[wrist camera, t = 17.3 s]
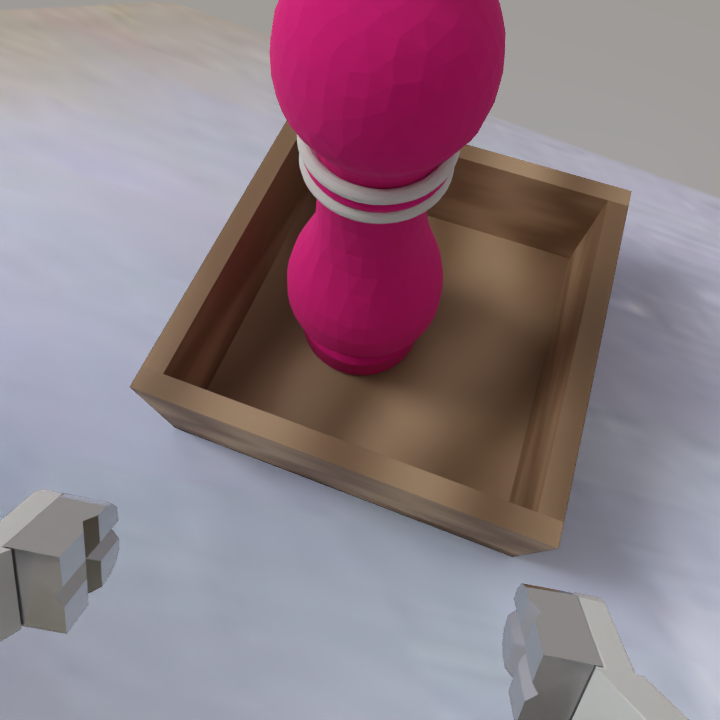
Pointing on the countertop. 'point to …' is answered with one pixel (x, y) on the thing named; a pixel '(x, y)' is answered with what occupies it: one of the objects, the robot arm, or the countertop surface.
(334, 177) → the pepper mill
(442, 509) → the tray
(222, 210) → the countertop surface
